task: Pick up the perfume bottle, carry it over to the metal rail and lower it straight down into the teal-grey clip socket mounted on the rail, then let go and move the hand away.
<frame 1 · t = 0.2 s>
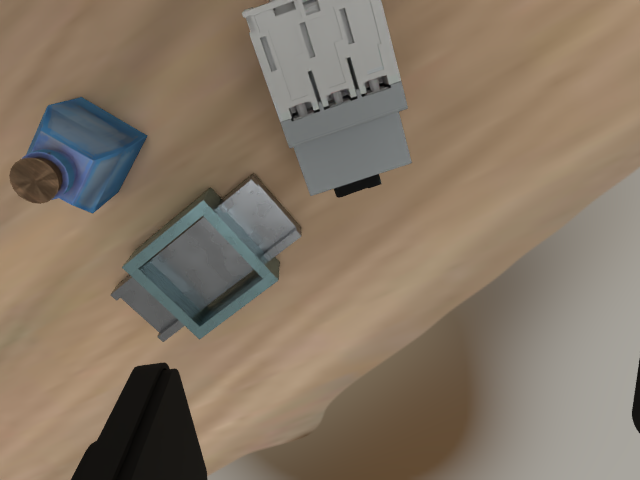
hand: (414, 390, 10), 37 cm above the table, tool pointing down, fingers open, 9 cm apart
rail clip: (208, 256, 48), on the table
circuit breaker: (327, 89, 43), on the table
perfume bottle: (101, 145, 44), on the table
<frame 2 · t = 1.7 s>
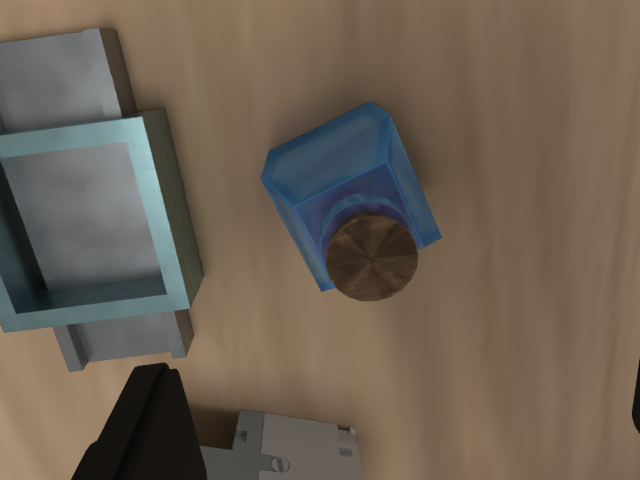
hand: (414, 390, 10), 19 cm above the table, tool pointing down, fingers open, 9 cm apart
rail clip: (98, 208, 28), on the table
circuit breaker: (245, 450, 35), on the table
perfume bottle: (342, 175, 28), on the table
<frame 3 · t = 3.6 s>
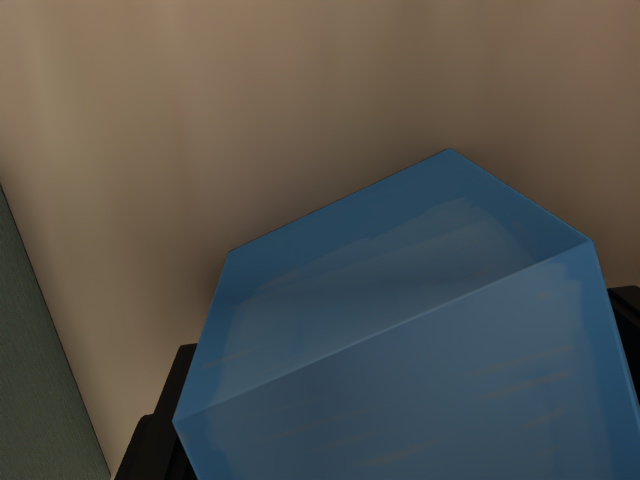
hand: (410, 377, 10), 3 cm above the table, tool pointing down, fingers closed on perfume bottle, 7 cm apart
perfume bottle: (381, 294, 14), on the table, touching gripper
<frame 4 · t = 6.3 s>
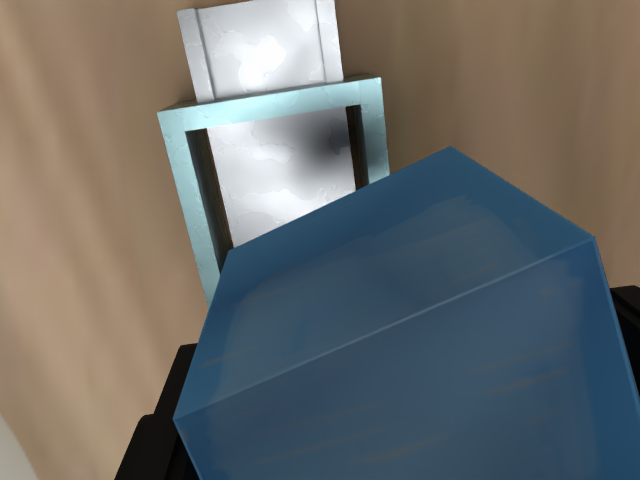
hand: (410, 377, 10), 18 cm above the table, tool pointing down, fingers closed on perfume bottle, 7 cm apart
rail clip: (288, 181, 27), on the table
perfume bottle: (382, 293, 14), point 14 cm above the table, touching gripper
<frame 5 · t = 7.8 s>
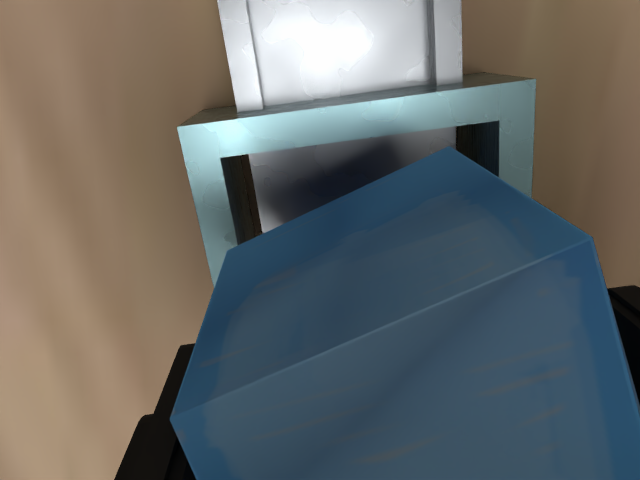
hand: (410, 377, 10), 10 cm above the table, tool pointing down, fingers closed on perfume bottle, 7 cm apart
rail clip: (356, 223, 19), on the table
perfume bottle: (380, 293, 14), point 6 cm above the table, touching gripper
when the fingers open (6 cm above the table, at t = 9.1 s): perfume bottle drops 1 cm, resting on rail clip.
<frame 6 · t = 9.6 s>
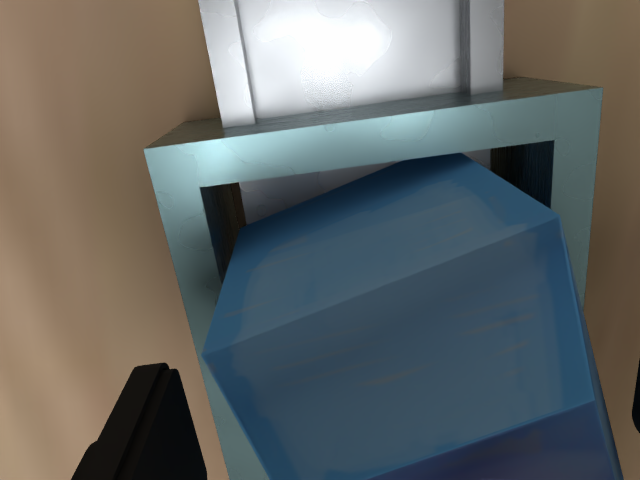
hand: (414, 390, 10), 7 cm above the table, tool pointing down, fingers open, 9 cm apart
rail clip: (367, 255, 16), on the table
perfume bottle: (377, 274, 15), point 1 cm above the table, touching rail clip
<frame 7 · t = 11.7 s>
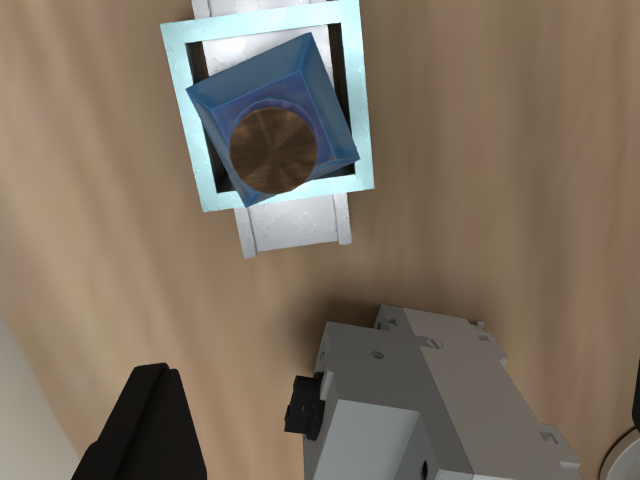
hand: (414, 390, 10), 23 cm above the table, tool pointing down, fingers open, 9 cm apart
rail clip: (276, 103, 30), on the table
circuit breaker: (379, 346, 38), on the table
perfume bottle: (278, 107, 29), point 1 cm above the table, touching rail clip
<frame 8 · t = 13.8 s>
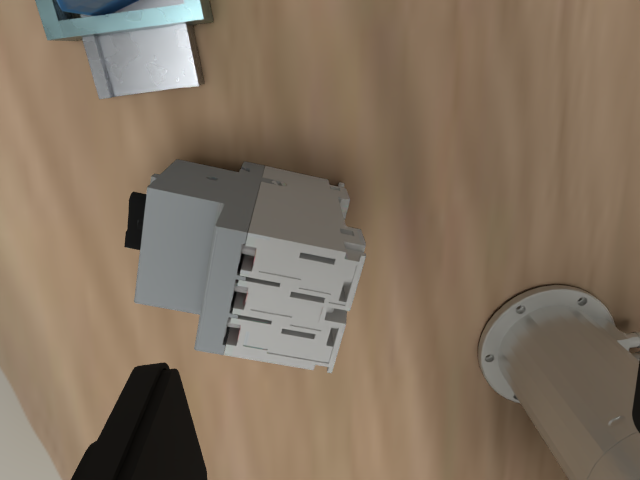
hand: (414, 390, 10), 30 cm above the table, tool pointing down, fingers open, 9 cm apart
circuit breaker: (248, 207, 40), on the table
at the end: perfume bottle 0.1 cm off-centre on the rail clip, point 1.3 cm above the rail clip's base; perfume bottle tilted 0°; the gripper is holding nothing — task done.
